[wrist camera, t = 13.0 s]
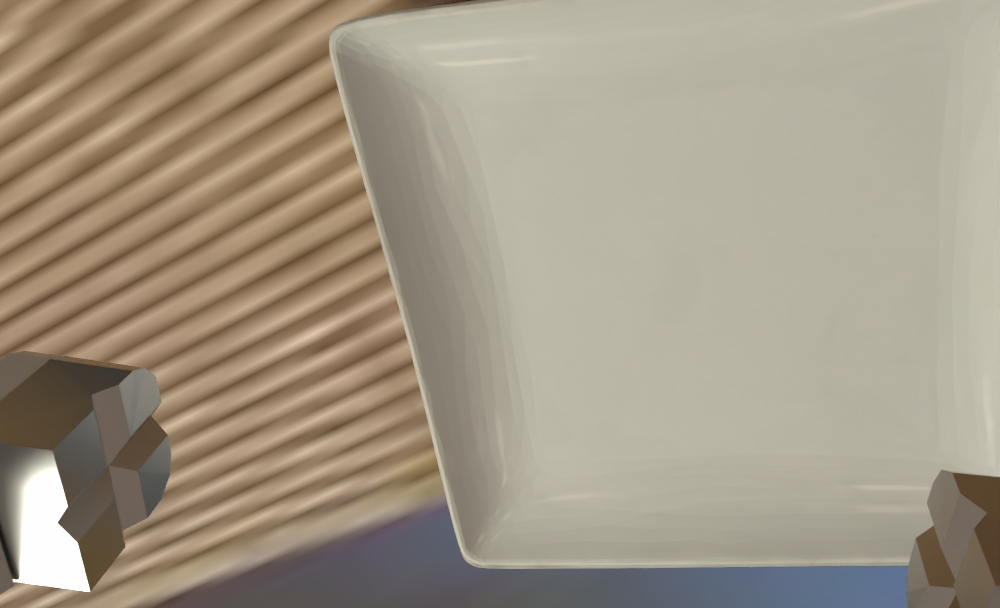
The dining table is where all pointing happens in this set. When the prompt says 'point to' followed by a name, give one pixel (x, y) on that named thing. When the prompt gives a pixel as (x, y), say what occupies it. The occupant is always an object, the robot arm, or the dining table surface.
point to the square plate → (690, 268)
